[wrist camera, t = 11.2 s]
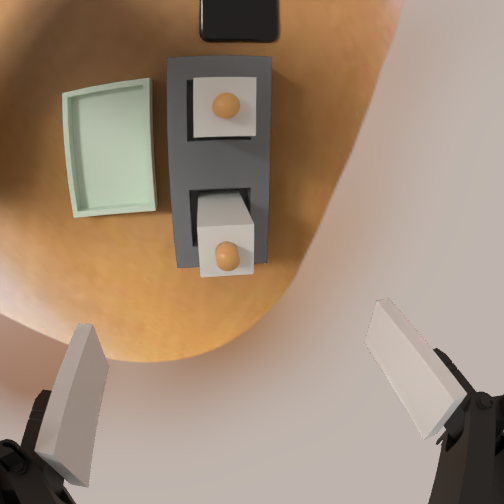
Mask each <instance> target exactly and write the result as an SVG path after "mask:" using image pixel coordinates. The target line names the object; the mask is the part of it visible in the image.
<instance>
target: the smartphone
mask: <svg viewBox="0 0 504 504" xmlns="http://www.w3.org/2000/svg"><path fill="white" fill-rule="evenodd" d="M277 36H278V7H277V0H200V37H201V38H202V39H203V40H204V41H206V42H236V41H243V42H272V41H274V40H276V38H277Z"/></svg>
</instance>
